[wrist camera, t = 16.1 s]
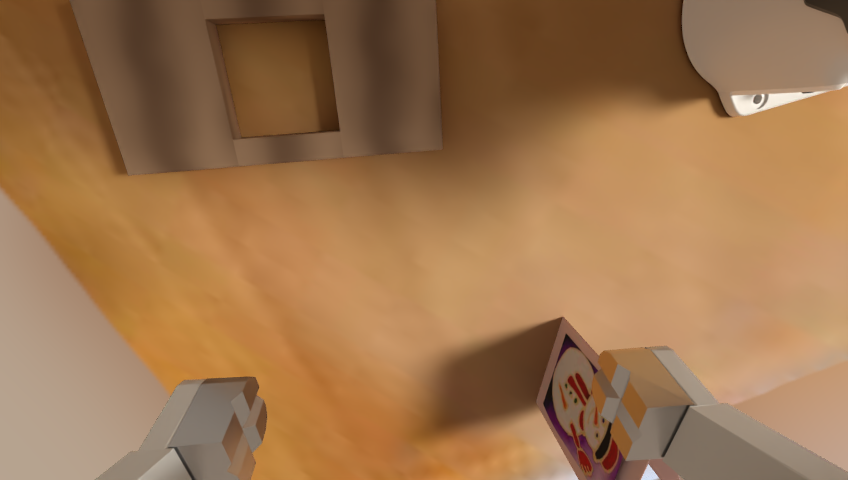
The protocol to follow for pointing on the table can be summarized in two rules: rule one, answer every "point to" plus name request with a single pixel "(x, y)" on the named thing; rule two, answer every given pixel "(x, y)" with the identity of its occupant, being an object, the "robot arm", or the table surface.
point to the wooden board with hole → (210, 91)
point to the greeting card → (584, 414)
